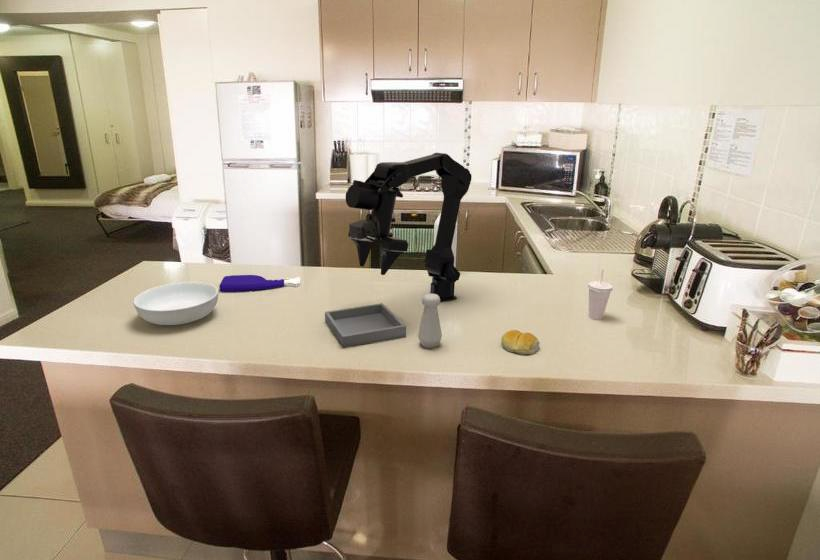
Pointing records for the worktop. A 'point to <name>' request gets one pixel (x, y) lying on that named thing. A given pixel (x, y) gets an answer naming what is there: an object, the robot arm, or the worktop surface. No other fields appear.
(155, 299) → the serving bowl
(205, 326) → the worktop surface
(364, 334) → the tray
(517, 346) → the bread roll
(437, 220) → the bottle
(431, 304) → the salt shaker
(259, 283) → the spray bottle
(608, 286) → the smoothie
